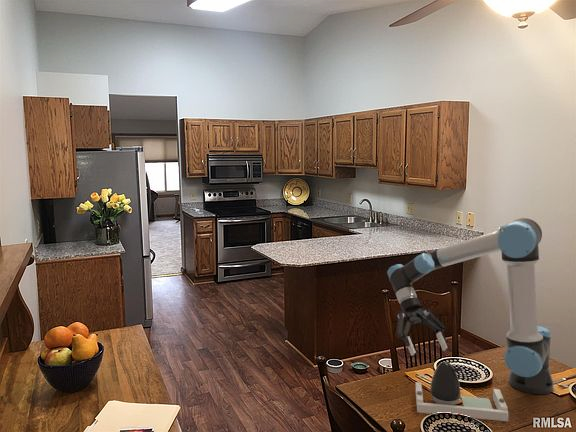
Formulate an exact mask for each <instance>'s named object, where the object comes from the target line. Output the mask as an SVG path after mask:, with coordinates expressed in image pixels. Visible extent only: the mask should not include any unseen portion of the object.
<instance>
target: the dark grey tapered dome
mask: <svg viewBox="0 0 576 432" xmlns="http://www.w3.org/2000/svg"><path fill="white" fill-rule="evenodd" d="M461 371H462V368H461V367H454V366H453V364H451V363H450V362H447V361H441V362H440V363H439V364H438V365H437V366H436V368H435V371H434V372H433V375H432V378H431V382H430V386H429V387H430V388H429V389H430V391H429V392H430V395H431V398H432V399H433V402H435V404H444V405H454V406H456V405H457V404H458V402H459V400H460V399H461V387H460V386H461V385H460V380H459V377H458V375H457V372H461Z"/></svg>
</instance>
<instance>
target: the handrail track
mask: <svg viewBox="0 0 576 432" xmlns="http://www.w3.org/2000/svg"><path fill="white" fill-rule="evenodd" d="M492 393H493V395H492V400H493V402H494V405H495V409H494V408H493V406H492V403H491V401H490V398H485V397H477V396H475V397H474V396H465V395H460V399H461V398H462V399H461V402H462V405H463V406H461V405H444V404H437V403H432V402H431V403H430V402H424V396H423V386H422V382H416V381H415V401H416V412H417V414H418V413H420V414H428V415H429V414H430V415H432V414H431V413H437V412H451V413H458V414H463V415H467V416H470V417H473V418H472V419H479V420H488V421H489V420H492V421H498V422H499V421H500V422H509V414H510V413H509V411H508V409H509V408H508V406H507V403H506V402H505V401H506V400H505V399H504V397H503V394H502V391H501V390H500V389H499V388H493V392H492Z"/></svg>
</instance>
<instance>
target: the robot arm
mask: <svg viewBox="0 0 576 432" xmlns="http://www.w3.org/2000/svg"><path fill="white" fill-rule="evenodd" d="M542 238H543V231H542V228H541V227H540V225H539V223H537V222H536V221H535V220H533V219H530V218H528V217H527V218H525V217H521V218H517V219H515V220H513V221H511V222H509V223H506V224H505V225H502V226H499V227H498V229H497V230H495V231H492V232H489V233H486V234H482V235H478V236H476V237H474V238H469V239H467V240H463V241H460V242H457V243H455V244H451V245H448V246H444V247H441V248H438V249H435V250H430V251H427V252H423V253H421V254H418V255H416V257H414V258H413V259H412V260H410V261H409V262H408V263H406V264H405V265H403V264H401V263H399V264H398V263H397V264H394V265H392V266H390V267H389V268H388V270H387V276H388V278H389V279H388V280H389V282H390V283H391V287H392V289H393V291H394V294H395V296H396V298H397V301H398V304H399V306H400V308H401V311H402V312H399V313H398V314H397V315H396V317H397V328H396V338H398V339H400V340H401V341H403V343H404V346H405V347H407V348H408V352H409V354H410V356H414V355H415V354H416V349H415V347H414V344H413V342H412V339H411V337H410V335H409V336H408V334H409V331H410V328H411V325H412V324H413V325H415V324H420V323H421V324H422V325H425V326H427V327H428V328H429V329H431V331H434V333H436V334H435V335H436V338H437V340H438V343H439V345H440V348H441V350H442V351H443V352H444V351H446V350H447V349H448V348H449V347H448V345H447V343H446V336H445V334H444V331H446V329H447V327H446V326H445V325H444V324H443V323H442V322H441V321H440V320H439V319H438V317H436V316H435V315H434V314H433V313H432V311H431V309H430V308H427V309H425V310H423V309H422V305H421V303H420V300H419V298H418V296H417V293H416V291H415V289H414V287H413V283H414V282H416V281H418V280H419V279H421V278H423V277H424V276H425V275H427V274H429V273H431V272H432V271H435V270H438V269H441V268H444V267H448V266H450V265H454V264H458V263H462V262H465V261H469V260H473V259H476V258H479V257H483V256H486V255H489V254H494V253H498V252H500V251H501V261H502V262H503V263H504V264H505V265H506V270H507V288H508V289H507V290H508V307H509V324H510V328H509V330H508V331H507V332H506V334H505V335H506V336H505V337H506V339H505V340H506V351H505V353H504V363H505V365H506V367H507V368H508V369H509V370H510V371H509V373H508V383H509V384H510V386H511V387H513V388H515V389H517V390H519V391H521V392H523V393H527V394H533V395H535V394H536V395H547V394H550V393H552V392H553V391H554V380H553V377H552V373H551V371H550V356H551V355H550V353H551V352H550V350H551V339H552V335H551V330H549V329H548V328H546V327H544V326H540V325H538V311H537V308H538V307H537V290H536V288H537V287H536V273H535V269H536V268H535V264H536V263H538V261H539V260H540V258H539V257H540V252H539V245H540V243H541V241H542ZM404 318H405V319H406V323H405V327H403V326H404ZM403 328H404V330H403Z"/></svg>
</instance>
